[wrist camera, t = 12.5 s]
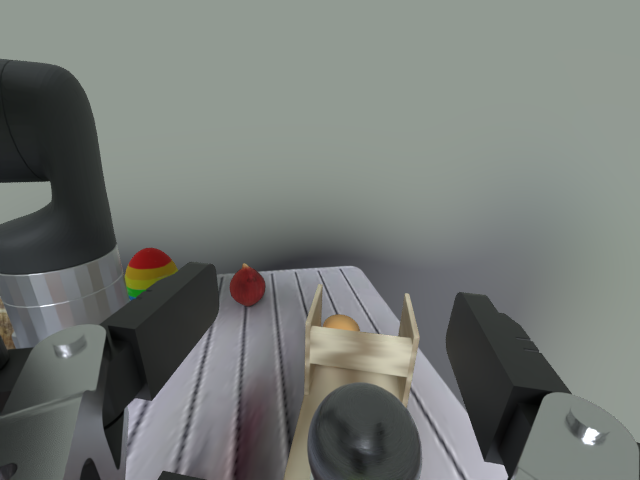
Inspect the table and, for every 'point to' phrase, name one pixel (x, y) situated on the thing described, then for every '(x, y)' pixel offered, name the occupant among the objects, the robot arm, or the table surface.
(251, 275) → the onion
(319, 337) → the frame
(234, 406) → the table surface
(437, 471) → the table surface
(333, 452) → the shaft
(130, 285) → the decorative egg
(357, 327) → the rounded orange object
